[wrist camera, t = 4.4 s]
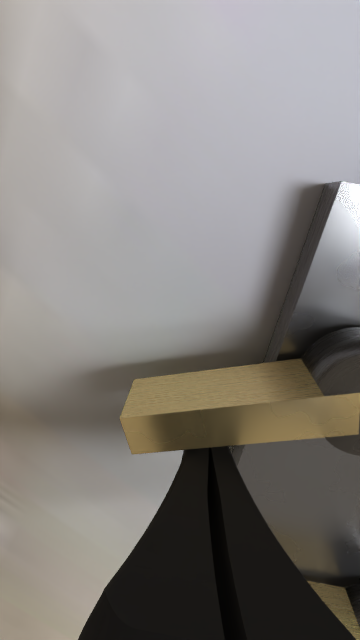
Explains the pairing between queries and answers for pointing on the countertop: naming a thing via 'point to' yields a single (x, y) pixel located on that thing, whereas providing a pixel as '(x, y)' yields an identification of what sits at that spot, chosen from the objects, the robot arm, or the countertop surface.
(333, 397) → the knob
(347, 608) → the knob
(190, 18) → the countertop surface
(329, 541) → the levelling plate
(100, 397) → the countertop surface
